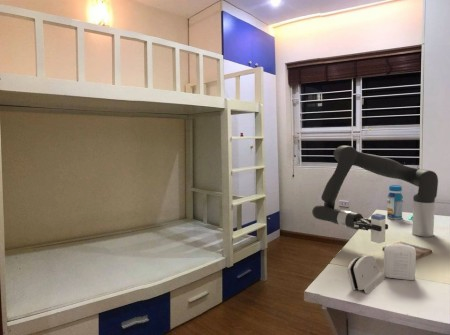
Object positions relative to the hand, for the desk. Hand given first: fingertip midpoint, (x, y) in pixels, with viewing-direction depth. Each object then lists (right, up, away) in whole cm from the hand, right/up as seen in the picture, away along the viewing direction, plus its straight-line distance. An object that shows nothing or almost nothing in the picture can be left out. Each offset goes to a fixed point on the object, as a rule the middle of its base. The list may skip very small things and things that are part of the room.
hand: (384, 227), depth 137 cm
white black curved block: (-18, -15, -22) cm, 32 cm away
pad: (+13, -12, +6) cm, 19 cm away
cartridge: (-1, -6, +3) cm, 7 cm away
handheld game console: (+52, -6, +61) cm, 81 cm away
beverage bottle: (+37, -6, +63) cm, 73 cm away
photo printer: (-4, -15, -19) cm, 24 cm away
